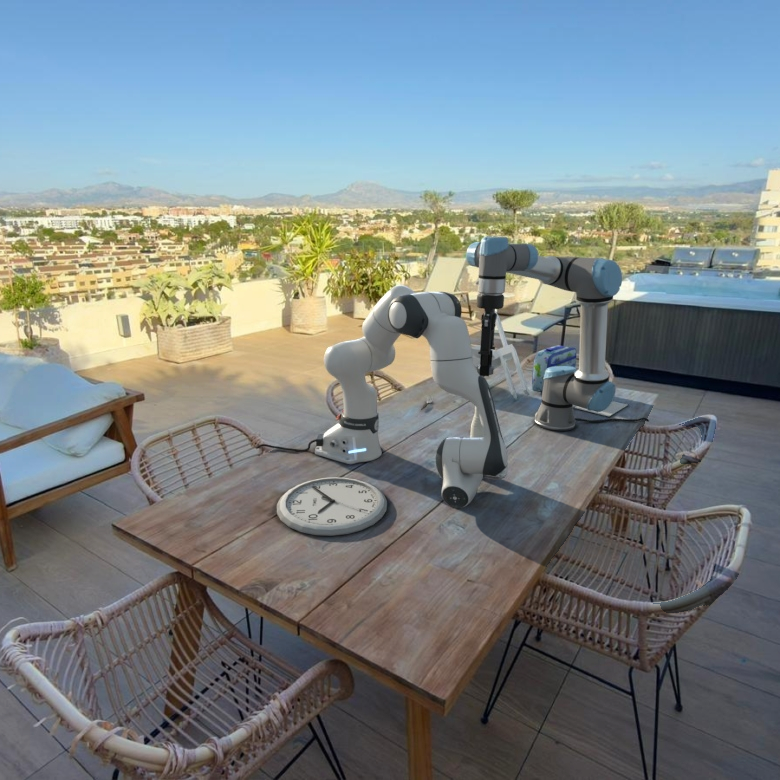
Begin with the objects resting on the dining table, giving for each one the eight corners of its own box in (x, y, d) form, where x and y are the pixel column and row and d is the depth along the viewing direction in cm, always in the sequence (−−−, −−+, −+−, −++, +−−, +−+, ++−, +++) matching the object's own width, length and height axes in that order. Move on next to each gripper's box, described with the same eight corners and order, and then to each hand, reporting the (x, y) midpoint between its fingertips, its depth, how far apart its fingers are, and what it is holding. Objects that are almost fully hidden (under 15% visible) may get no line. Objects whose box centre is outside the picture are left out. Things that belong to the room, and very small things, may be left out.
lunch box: (548, 398, 236) (553, 353, 229) (527, 393, 243) (531, 349, 237) (575, 387, 253) (581, 344, 247) (555, 382, 260) (560, 341, 254)
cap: (494, 375, 152) (494, 368, 151) (477, 375, 152) (478, 368, 152) (492, 371, 156) (492, 364, 156) (476, 370, 157) (477, 363, 156)
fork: (418, 410, 217) (418, 406, 217) (428, 399, 232) (428, 395, 231) (424, 411, 216) (424, 406, 216) (434, 400, 231) (434, 395, 230)
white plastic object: (461, 429, 252) (437, 405, 227) (444, 352, 274) (420, 323, 250) (535, 404, 240) (518, 377, 215) (510, 326, 262) (492, 293, 237)
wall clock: (392, 527, 129) (268, 531, 127) (391, 533, 130) (269, 537, 127) (383, 473, 158) (282, 475, 155) (383, 478, 158) (282, 480, 156)
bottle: (479, 478, 160) (484, 410, 153) (464, 474, 162) (469, 407, 156) (486, 472, 163) (492, 406, 157) (472, 468, 166) (477, 403, 160)
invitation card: (608, 416, 214) (573, 407, 224) (608, 416, 214) (573, 408, 224) (628, 404, 229) (594, 396, 238) (628, 405, 229) (594, 397, 238)
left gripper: (505, 468, 145) (512, 450, 157) (434, 456, 152) (446, 439, 164) (503, 489, 147) (510, 469, 159) (433, 476, 154) (445, 458, 166)
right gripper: (481, 289, 156) (476, 365, 163) (472, 296, 140) (467, 380, 147) (507, 290, 154) (501, 367, 161) (501, 298, 138) (494, 382, 145)
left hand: (477, 454), depth 162 cm, fingers closed on bottle, 5 cm apart
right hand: (485, 373), depth 154 cm, fingers closed on cap, 4 cm apart
